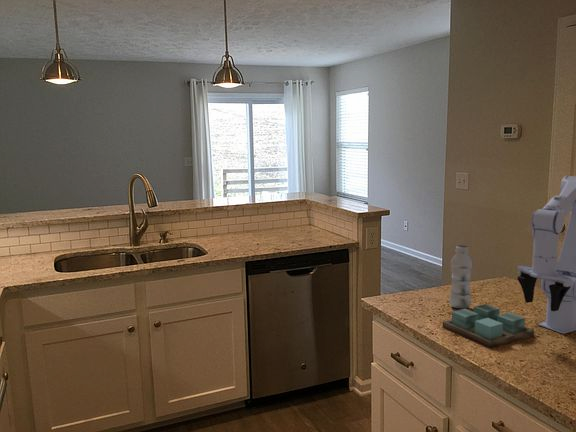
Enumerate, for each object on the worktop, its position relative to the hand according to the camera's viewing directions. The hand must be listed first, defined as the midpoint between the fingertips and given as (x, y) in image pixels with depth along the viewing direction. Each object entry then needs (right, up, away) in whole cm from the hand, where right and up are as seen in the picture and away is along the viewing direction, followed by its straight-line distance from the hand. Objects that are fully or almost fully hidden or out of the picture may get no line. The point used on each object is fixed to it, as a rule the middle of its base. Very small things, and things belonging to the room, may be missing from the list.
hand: (541, 306), depth 135 cm
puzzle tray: (-11, -9, +9) cm, 17 cm away
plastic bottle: (-12, -6, +29) cm, 32 cm away
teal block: (-13, -9, +4) cm, 16 cm away
